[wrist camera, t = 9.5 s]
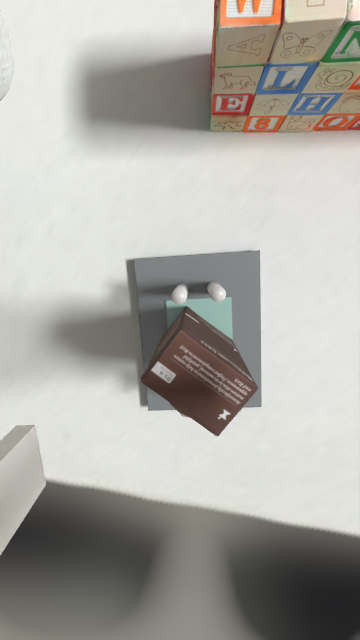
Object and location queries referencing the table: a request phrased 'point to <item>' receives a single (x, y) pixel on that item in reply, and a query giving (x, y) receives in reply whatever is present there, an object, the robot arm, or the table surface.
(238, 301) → the grey pegged stand
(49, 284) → the table surface
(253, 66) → the stack of blocks
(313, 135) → the table surface
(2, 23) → the mug
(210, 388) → the box
